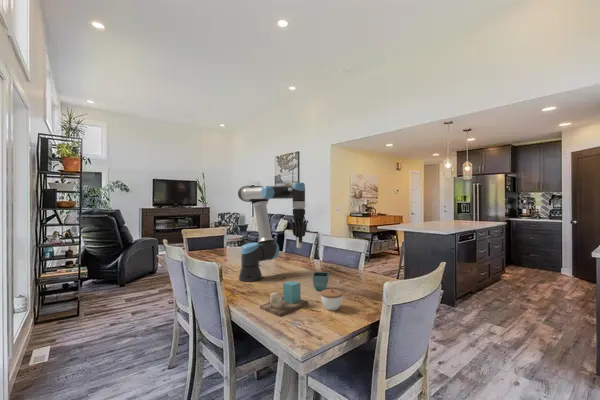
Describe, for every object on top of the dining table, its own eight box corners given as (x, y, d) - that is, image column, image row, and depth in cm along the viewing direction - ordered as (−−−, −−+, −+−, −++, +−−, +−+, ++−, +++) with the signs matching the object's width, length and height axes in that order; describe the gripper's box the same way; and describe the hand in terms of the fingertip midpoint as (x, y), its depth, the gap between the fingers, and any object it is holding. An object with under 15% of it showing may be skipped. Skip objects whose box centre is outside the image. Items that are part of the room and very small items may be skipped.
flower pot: (327, 292, 167) (327, 276, 167) (312, 291, 168) (312, 275, 168) (329, 287, 175) (328, 272, 175) (314, 286, 177) (314, 271, 177)
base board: (259, 308, 143) (259, 305, 143) (288, 298, 158) (288, 295, 158) (279, 316, 133) (279, 313, 133) (308, 304, 148) (308, 301, 148)
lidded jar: (319, 304, 148) (319, 286, 148) (340, 303, 149) (340, 285, 149) (322, 312, 137) (322, 292, 137) (345, 311, 138) (345, 292, 138)
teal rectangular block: (283, 300, 149) (283, 283, 149) (291, 297, 154) (291, 280, 154) (292, 303, 145) (291, 285, 145) (300, 300, 150) (300, 282, 150)
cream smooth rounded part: (268, 309, 141) (267, 294, 141) (276, 306, 145) (276, 291, 145) (276, 312, 138) (275, 297, 137) (284, 309, 142) (284, 294, 142)
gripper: (286, 208, 176) (287, 247, 177) (302, 209, 167) (302, 250, 168) (295, 207, 182) (295, 245, 182) (311, 208, 173) (311, 248, 173)
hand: (299, 247), depth 175 cm, fingers closed
